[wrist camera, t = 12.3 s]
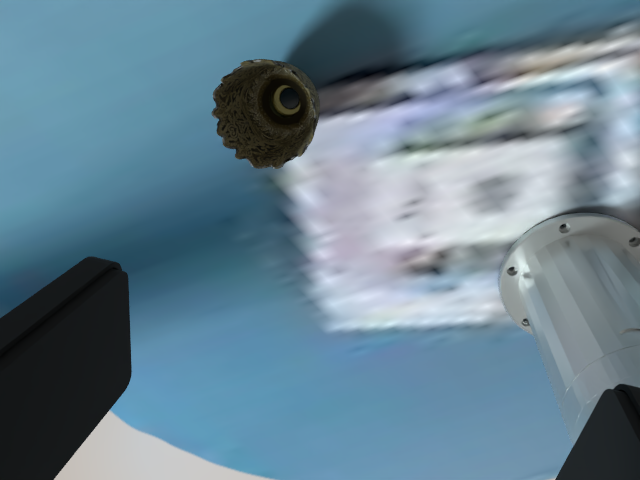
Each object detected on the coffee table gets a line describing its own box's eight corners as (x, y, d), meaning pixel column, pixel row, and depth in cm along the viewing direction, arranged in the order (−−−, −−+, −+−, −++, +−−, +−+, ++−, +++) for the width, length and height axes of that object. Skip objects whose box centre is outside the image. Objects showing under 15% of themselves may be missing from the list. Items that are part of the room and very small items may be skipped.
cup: (305, 32, 38) (279, 37, 31) (349, 116, 40) (334, 139, 33) (230, 80, 40) (190, 94, 33) (276, 156, 43) (247, 185, 36)
